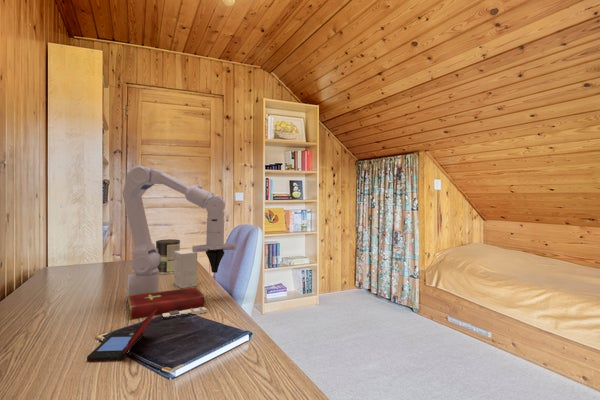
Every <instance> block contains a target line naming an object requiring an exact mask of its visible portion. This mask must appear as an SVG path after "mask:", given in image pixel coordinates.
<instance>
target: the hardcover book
mask: <svg viewBox="0 0 600 400" xmlns="http://www.w3.org/2000/svg"><path fill="white" fill-rule="evenodd" d="M206 296H207V295H205V294H204V293H203V292H202V291H201V290H200V289H199V288H198V286H193V287H187V288H177V289H170V290H163V291H158V292H153V293H145V294H137V295H129V296H128V299H127V302H128V301H129V304H128V309H129V320H134V319H141V318H142V319H143V318H147V317H148V316H149V315H150V314H151V313H152V311H153V310H154V309H155V308H157V311H156V312H155V314H154V316H155V317H156V316H162V314H163V313H168V312H169V311H175V310H188V309H190V308H192V309H195V308H199V307H206V308H207V305H206V304H207V297H206ZM154 316H153V317H154Z"/></svg>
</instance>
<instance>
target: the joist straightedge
mask: <svg viewBox="0 0 600 400" xmlns="http://www.w3.org/2000/svg"><path fill="white" fill-rule="evenodd" d="M204 312H208V309H207V307H206V308H205V307H199V308H195V309H192V308H190V309H188V310H182V311H178V310H176V311H169V313H163V314H161V316H163V317H169V316H176V315H181V314H188V313H192V314H196V315H201V314H200V313H202V314H205V313H204Z"/></svg>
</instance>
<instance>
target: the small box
mask: <svg viewBox="0 0 600 400" xmlns="http://www.w3.org/2000/svg"><path fill="white" fill-rule="evenodd" d="M173 285H175V286H176V287H178V288H179V289H185V288H193V287H198V286H197V285H198V252H192V250H191V249H185V250H180V251H174V273H173Z"/></svg>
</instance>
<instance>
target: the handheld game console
mask: <svg viewBox="0 0 600 400" xmlns="http://www.w3.org/2000/svg"><path fill="white" fill-rule="evenodd" d="M156 311H157V308H155V309H154V310H153V311H152V313H151V314H150V315H149V316H148V317H145V319H144V320H143V321H142V322H141V323H140V324H139V325H138V327H137V328H136V329H135V331H134V332H116V333H112V334H110V335H109V336H108V337H107V338H106V339H105V340H103V341H102V342H101V343H100V344H99V345H97V347H96V348H95V349H94V350H93V351H91V353H89V354H88V355H87V357H86V361H87V362H90V363H91V362H123V361H124V360H125V359H126V357H127V356H128V354H127V352H128V349H129V348H130V347H131V346H132V345H133V344H134V343H135V342H136V341H137V340H138V339H139V338H140V337H141V336H142V335H143V334H144V331H145V330H146V329H147V328H148V325H149V324H150V322H151V321H152V319H153V317H154V314H155V312H156ZM144 335H145V334H144Z"/></svg>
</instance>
